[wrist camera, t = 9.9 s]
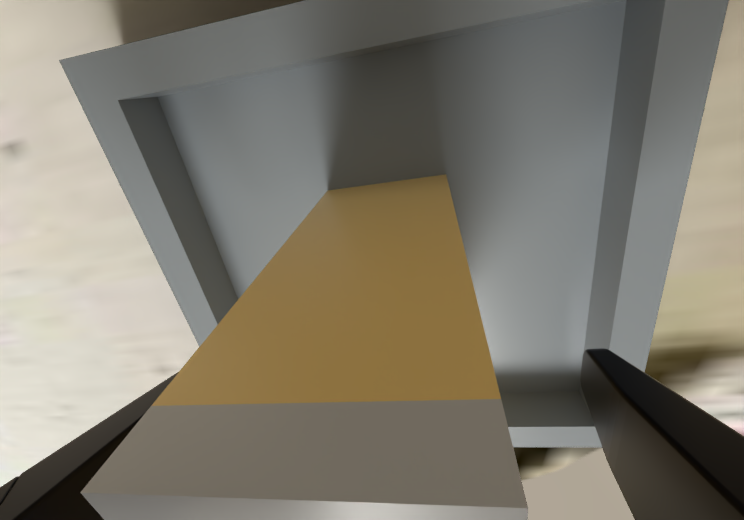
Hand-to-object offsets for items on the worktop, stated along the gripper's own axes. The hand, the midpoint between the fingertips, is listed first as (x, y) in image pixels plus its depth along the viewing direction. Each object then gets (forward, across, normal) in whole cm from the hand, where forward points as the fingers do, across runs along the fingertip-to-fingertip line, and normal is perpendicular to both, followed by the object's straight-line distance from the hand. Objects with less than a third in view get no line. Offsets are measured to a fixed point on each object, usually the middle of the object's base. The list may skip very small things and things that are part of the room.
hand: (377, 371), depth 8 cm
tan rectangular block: (+5, 0, 0) cm, 5 cm away
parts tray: (+6, 0, 0) cm, 6 cm away
